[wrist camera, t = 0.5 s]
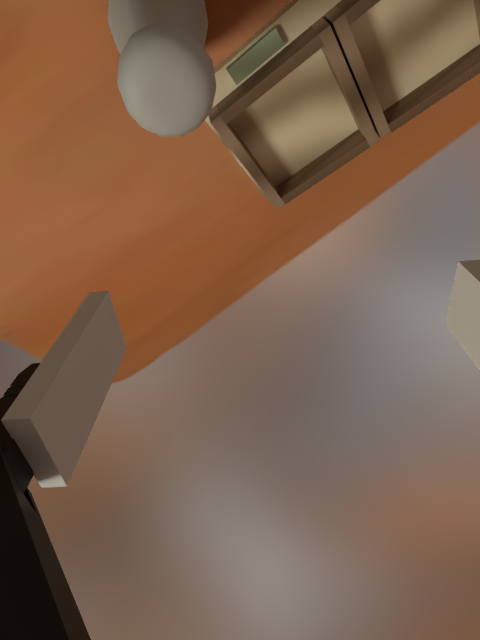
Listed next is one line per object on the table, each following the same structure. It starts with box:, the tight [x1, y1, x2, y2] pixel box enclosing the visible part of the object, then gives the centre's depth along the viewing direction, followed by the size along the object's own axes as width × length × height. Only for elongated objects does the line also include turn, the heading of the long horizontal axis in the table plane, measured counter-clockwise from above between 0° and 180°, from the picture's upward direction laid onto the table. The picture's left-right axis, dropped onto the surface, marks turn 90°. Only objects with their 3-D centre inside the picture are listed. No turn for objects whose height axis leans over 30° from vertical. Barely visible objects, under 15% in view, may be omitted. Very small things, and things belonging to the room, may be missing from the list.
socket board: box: [205, 0, 480, 209], centre depth 29 cm, size 11×20×2 cm, turn 124°
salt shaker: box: [108, 0, 216, 136], centre depth 21 cm, size 6×6×13 cm
